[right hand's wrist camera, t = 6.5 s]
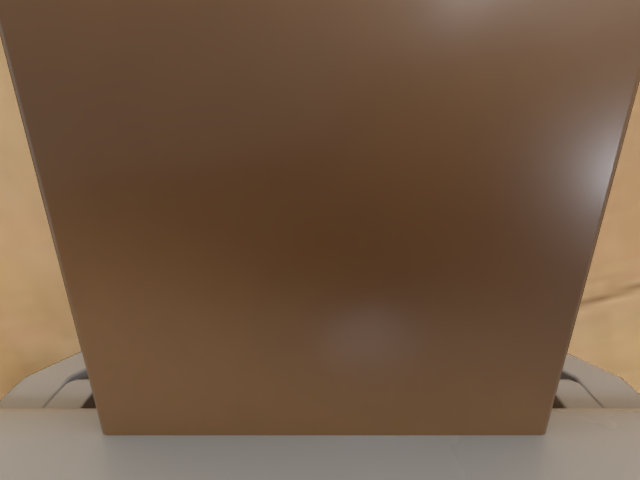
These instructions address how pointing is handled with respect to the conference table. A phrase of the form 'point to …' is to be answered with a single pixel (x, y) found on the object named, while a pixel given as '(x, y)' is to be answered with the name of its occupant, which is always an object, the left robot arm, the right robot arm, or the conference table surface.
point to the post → (324, 203)
